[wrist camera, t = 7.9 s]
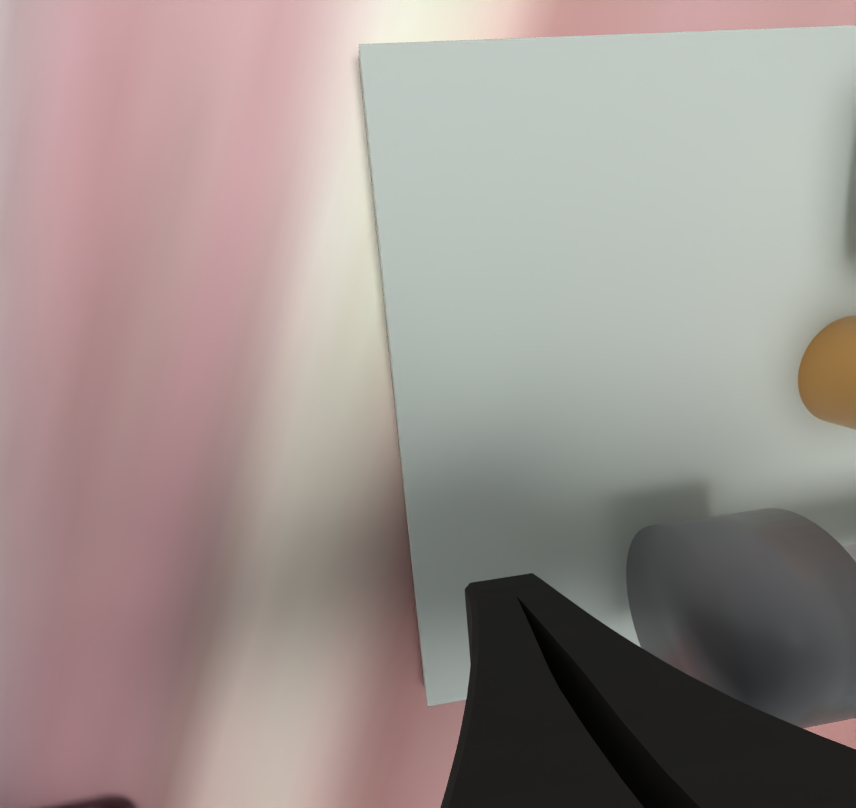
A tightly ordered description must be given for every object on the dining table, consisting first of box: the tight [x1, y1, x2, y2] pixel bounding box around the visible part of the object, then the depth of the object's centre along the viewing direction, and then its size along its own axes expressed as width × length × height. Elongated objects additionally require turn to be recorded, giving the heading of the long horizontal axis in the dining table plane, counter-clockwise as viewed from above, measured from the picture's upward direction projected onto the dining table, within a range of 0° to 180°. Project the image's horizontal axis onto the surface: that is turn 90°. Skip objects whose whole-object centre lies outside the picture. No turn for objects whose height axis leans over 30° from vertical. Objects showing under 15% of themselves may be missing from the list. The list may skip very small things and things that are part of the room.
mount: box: [359, 25, 856, 707], centre depth 9 cm, size 15×14×6 cm
